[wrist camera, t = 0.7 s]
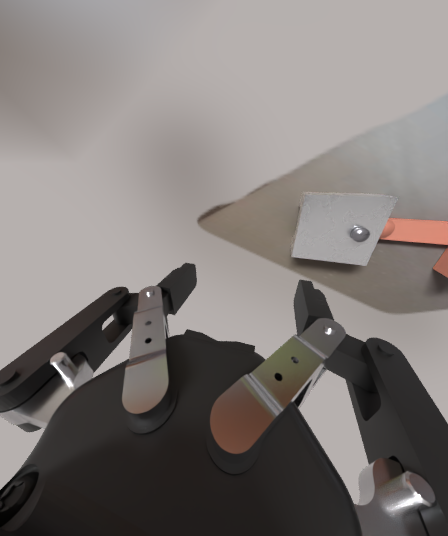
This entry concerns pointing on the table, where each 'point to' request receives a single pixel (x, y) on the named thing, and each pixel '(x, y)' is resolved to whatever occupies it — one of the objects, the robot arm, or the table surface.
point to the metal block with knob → (340, 226)
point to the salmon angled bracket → (420, 235)
